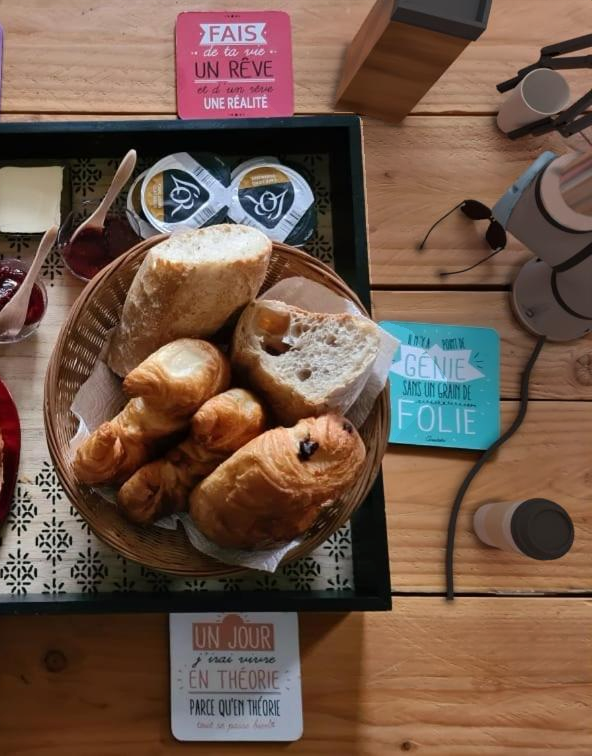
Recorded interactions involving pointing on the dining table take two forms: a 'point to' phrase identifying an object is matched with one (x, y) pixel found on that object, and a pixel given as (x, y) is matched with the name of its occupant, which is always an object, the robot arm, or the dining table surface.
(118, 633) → the dining table surface
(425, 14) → the tray
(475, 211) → the sunglasses
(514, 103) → the cup
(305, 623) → the dining table surface
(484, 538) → the coffee cup
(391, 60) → the stand
